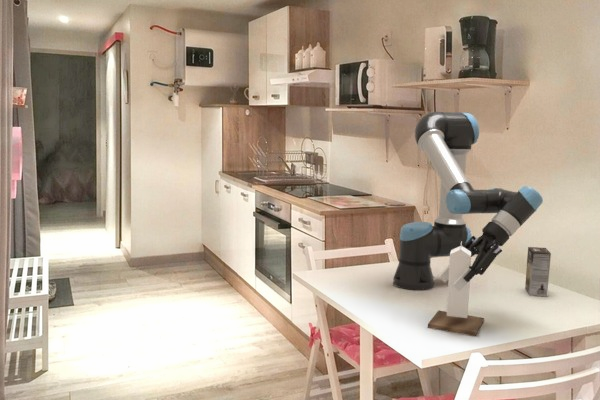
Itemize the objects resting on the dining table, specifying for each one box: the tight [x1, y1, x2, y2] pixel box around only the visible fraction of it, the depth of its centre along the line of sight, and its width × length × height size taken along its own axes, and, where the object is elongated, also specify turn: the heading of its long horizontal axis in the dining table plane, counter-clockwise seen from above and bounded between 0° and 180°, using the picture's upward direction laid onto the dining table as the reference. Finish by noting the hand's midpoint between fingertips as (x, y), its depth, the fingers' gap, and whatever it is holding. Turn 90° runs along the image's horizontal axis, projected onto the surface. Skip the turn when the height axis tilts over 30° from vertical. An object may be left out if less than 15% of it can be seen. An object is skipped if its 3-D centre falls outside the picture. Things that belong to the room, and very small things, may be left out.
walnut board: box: [427, 310, 485, 337], centre depth 168 cm, size 14×14×1 cm
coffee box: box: [524, 246, 552, 298], centre depth 202 cm, size 9×6×16 cm
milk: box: [446, 241, 472, 318], centre depth 167 cm, size 6×6×22 cm
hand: (448, 283), depth 166 cm, fingers closed on milk, 8 cm apart
